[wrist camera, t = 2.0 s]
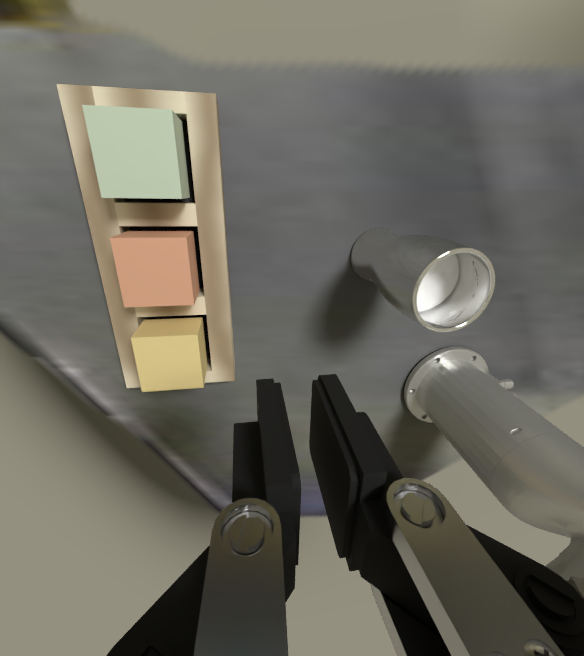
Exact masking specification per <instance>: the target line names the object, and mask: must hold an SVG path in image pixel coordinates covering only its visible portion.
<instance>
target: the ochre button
mask: <svg viewBox="0 0 584 656" xmlns="http://www.w3.org/2000/svg"><path fill="white" fill-rule="evenodd" d="M131 342H132V346H133V351H134V356H135V361H136V366H137V370H138V375H139V380H140V385H141V389H142V392H149V391H163V390H177V389H191V388H204V383H205V377H206V371H207V366H208V365H207V356H206V346H205V337H204V327H203V318H202V317H200V318H175V319H150V320H143V322H142V323H141V324H140V326H139V327H138V329H137V330H136V331H135V333H134V334H133V336H132V337H131Z"/></svg>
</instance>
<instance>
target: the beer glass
mask: <svg viewBox="0 0 584 656" xmlns="http://www.w3.org/2000/svg"><path fill="white" fill-rule="evenodd" d="M351 264H352V267H353V269H354V271H355V272H356V274H357V275H358V276H360V277H361V278H363V279H365V280H369V281H373V282H374V283H375V285H376V286H377V288H378V289H379V291H380V292H381V294H382V295H383V296H384V298H385V299H386V300H387V301H388V302H389V303H390V304H391V305H392V306H393V307H394V308H396V309H397V310H398V311H400V312H401V313H402V314H404V315H405V316H407V317H409V318H410V319H412V320H414V321H416V322H417V323H419V324H421V325H423V326H424V327H425V328H427V329H429V330H431V331H434V332H442V333H445V332H452V331H456V330H459V329H461V328H463V327H465V326H467V325H468V324H470V323H471V322H473V321H474V320H475V319H476V318H477V317H478V316H479V315H480V314H481V313H482V312H483V311H484V309H485V308H486V306H487V305H488V303H489V301H490V299H491V297H492V294H493V291H494V287H495V272H494V268H493V265H492V263H491V261H490V260H489V259H488V257H487V256H486V255H484V254H483V253H482V252H480V251H478V250H475V249H472V248H468V247H466V246H464V245H461V244H459V243H456V242H453V241H450V240H447V239H443V238H440V237H434V236H429V235H409V236H397V235H396V234H394V233H393V232H391V231H390V230H387V229H384V228H374V229H371V230H368V231H366V232H365V233H363V234H362V235H361V236H360V237H359V238H358V239H357V240H356V242H355V244H354V246H353V248H352V252H351Z"/></svg>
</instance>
